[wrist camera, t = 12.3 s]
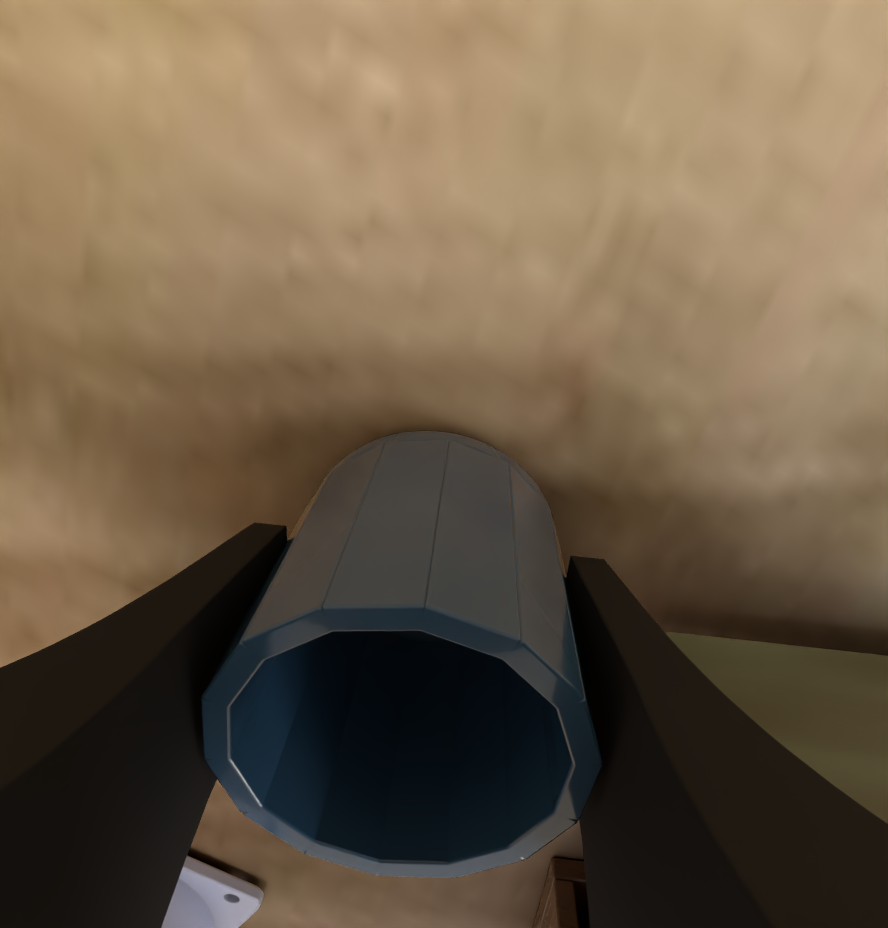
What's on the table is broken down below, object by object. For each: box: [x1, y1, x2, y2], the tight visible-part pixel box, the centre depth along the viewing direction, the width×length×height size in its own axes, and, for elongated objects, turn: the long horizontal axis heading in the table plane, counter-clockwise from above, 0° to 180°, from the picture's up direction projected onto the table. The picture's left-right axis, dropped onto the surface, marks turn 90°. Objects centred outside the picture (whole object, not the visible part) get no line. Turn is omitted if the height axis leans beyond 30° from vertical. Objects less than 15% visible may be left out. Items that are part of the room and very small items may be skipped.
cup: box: [201, 431, 603, 878], centre depth 10 cm, size 5×5×5 cm
